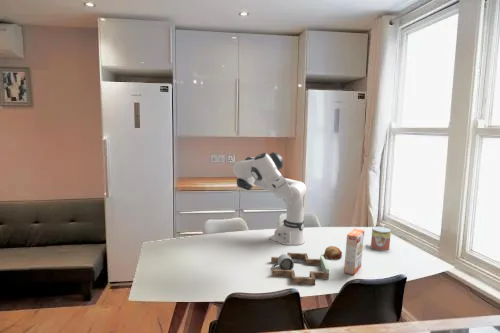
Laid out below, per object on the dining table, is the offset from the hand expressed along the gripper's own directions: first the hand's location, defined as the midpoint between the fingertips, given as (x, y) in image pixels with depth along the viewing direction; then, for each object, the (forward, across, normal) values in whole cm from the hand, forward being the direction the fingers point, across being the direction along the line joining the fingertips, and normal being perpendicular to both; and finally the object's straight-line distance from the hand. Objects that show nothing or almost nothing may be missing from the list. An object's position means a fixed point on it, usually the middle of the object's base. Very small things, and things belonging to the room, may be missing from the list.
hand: (289, 204), depth 184 cm
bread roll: (+45, -20, +11) cm, 51 cm away
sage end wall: (+40, -1, -3) cm, 40 cm away
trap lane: (+33, -4, -13) cm, 36 cm away
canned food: (+64, -30, +44) cm, 83 cm away
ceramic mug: (+28, -6, -20) cm, 35 cm away
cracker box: (+49, -1, +11) cm, 51 cm away
